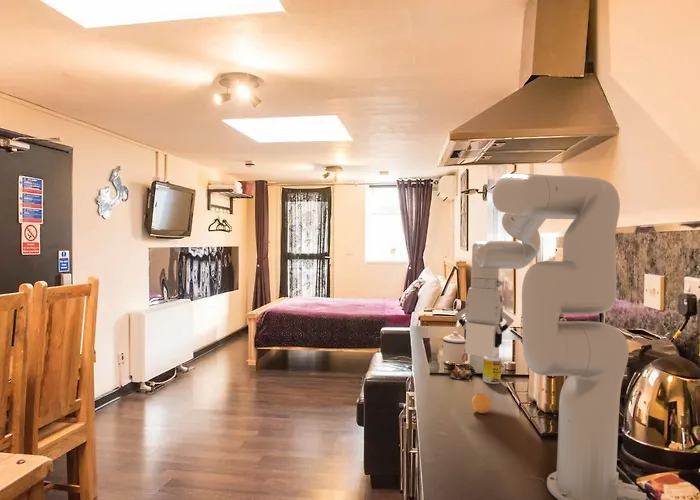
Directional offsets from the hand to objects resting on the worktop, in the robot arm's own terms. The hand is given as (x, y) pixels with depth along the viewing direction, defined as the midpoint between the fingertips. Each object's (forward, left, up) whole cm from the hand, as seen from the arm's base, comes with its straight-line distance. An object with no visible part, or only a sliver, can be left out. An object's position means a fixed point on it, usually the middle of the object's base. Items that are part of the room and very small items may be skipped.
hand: (482, 344), depth 128 cm
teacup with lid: (+20, -32, -16) cm, 41 cm away
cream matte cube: (0, 0, -3) cm, 3 cm away
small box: (+8, -28, -16) cm, 33 cm away
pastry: (+12, -18, -17) cm, 27 cm away
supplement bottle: (+2, -17, -16) cm, 24 cm away
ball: (-3, +11, -13) cm, 17 cm away
